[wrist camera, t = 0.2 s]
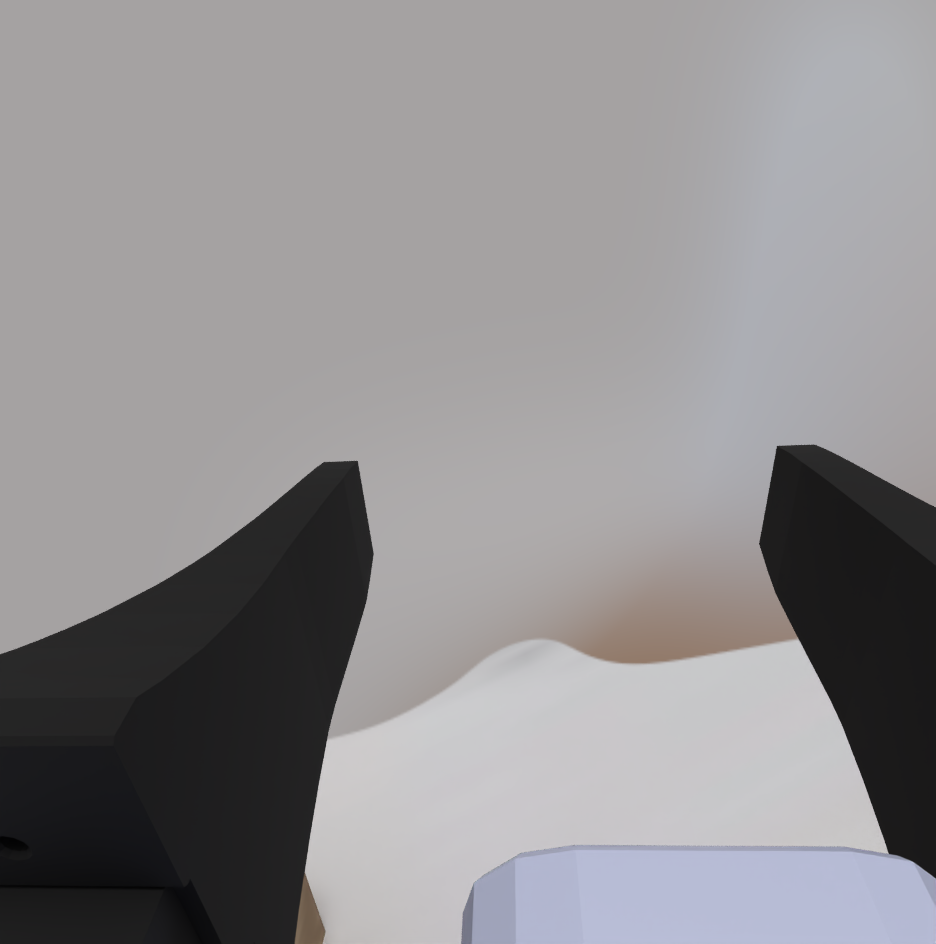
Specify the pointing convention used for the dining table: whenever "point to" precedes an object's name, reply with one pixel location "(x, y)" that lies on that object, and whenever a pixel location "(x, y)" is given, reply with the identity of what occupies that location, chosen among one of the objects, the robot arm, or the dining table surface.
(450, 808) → the dining table surface
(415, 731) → the dining table surface
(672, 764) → the dining table surface
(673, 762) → the dining table surface
